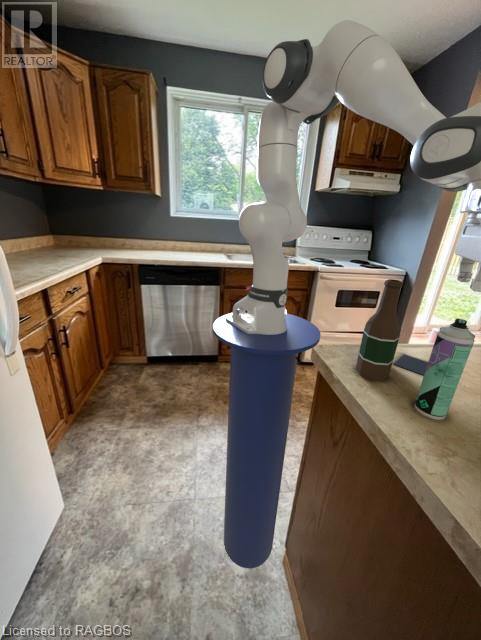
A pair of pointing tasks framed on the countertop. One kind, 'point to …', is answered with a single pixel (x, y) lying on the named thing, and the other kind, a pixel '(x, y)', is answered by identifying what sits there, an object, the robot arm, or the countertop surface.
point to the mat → (412, 364)
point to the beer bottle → (381, 335)
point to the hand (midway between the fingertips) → (469, 286)
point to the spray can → (444, 369)
